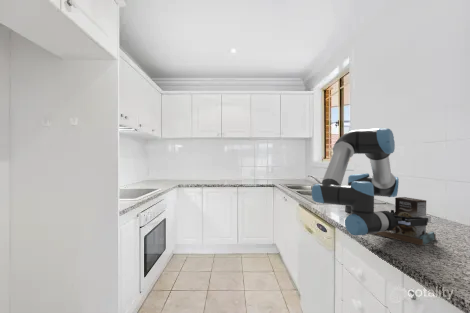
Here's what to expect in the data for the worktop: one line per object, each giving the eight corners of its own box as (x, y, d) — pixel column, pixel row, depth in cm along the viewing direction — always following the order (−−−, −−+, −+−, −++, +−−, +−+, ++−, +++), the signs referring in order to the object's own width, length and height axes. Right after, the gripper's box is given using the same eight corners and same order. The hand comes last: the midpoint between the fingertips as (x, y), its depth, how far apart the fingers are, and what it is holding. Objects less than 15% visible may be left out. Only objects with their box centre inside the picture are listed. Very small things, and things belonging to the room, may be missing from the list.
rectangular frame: (380, 226, 123) (380, 220, 123) (435, 239, 104) (435, 231, 104) (364, 231, 115) (364, 224, 115) (421, 245, 97) (421, 237, 97)
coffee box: (394, 235, 109) (394, 197, 109) (404, 233, 111) (404, 196, 112) (416, 242, 100) (416, 200, 101) (427, 239, 103) (426, 199, 103)
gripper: (356, 224, 109) (392, 219, 118) (409, 239, 89) (447, 231, 98) (356, 206, 109) (392, 202, 118) (409, 217, 89) (447, 212, 98)
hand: (417, 215), depth 108 cm, fingers closed on coffee box, 9 cm apart
